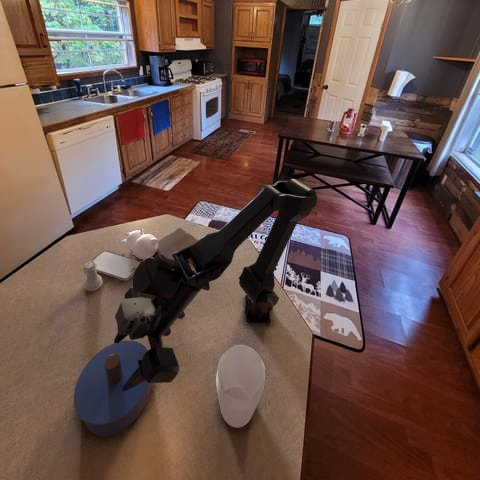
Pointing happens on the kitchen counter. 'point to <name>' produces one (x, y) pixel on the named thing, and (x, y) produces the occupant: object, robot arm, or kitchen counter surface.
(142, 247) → the white rounded figure
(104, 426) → the tin
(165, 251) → the trivet
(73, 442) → the kitchen counter surface
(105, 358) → the lid
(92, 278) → the rook chess piece
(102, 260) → the smartphone
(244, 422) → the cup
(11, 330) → the kitchen counter surface
